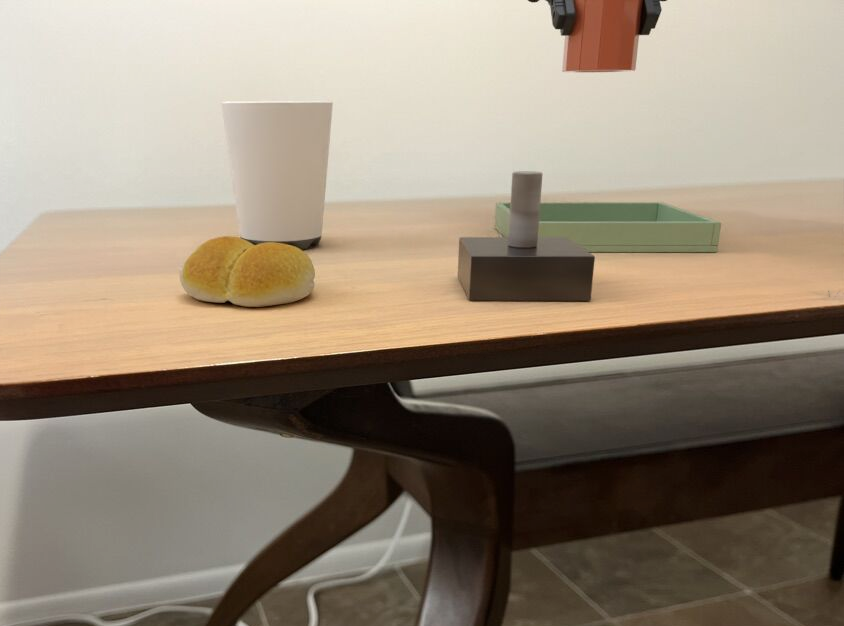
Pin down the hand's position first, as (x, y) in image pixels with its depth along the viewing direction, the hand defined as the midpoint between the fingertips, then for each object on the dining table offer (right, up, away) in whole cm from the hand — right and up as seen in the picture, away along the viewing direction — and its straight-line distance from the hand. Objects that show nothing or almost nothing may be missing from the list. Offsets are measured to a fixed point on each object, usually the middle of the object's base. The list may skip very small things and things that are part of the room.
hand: (608, 26), depth 66 cm
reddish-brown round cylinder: (0, -3, +3) cm, 4 cm away
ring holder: (-9, -22, -9) cm, 26 cm away
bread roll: (-28, -23, -10) cm, 38 cm away
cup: (-27, -16, +10) cm, 33 cm away
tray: (+3, -15, +12) cm, 20 cm away
